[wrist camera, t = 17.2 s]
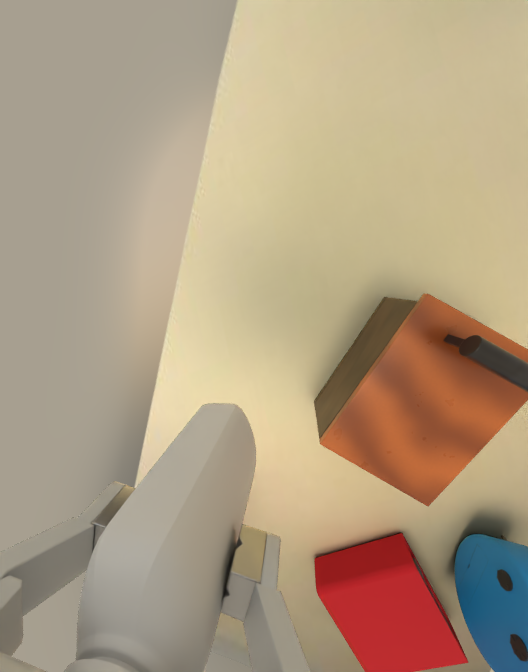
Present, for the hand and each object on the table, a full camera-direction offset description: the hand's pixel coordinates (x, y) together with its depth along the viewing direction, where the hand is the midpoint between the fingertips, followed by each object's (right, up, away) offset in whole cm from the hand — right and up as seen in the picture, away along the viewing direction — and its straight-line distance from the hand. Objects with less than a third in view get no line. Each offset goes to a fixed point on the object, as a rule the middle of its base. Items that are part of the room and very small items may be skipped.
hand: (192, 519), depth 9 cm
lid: (+18, 0, +14) cm, 23 cm away
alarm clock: (+34, -24, +26) cm, 49 cm away
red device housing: (+21, -33, +30) cm, 49 cm away
